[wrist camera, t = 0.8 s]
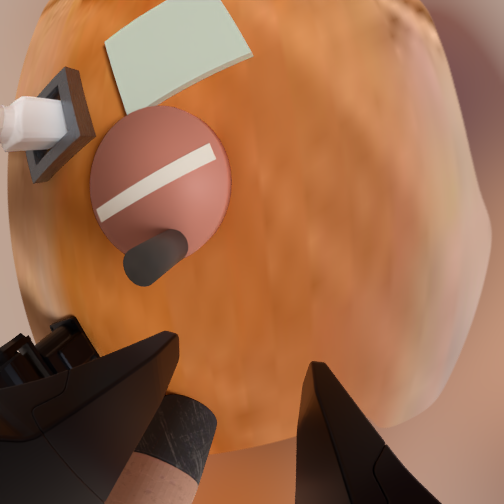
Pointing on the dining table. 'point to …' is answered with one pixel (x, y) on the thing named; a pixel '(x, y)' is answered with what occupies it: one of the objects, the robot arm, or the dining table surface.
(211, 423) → the travel mug
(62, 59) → the dining table surface
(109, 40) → the board
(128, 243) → the handwheel
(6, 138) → the pepper shaker
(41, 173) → the dark grey square frame
